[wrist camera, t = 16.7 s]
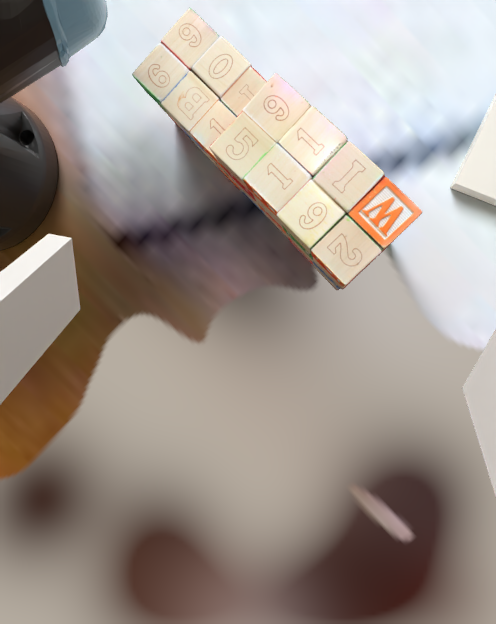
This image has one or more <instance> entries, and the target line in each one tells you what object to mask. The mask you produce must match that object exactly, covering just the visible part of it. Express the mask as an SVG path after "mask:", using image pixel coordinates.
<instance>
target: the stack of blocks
mask: <svg viewBox="0 0 496 624" xmlns="http://www.w3.org/2000/svg"><path fill="white" fill-rule="evenodd" d="M132 75H133V77H134V78H135V79H136V80H137V81H138V83H139V84H140V85H141V86H142V87H143V88H144V90H145V91H146V92H147V93H148V94H149V95H150V96H151V97H152V98H153V99H154V100H155V101H156V102H157V103H158V104H159V105H160V107H161V108H162V109H163V110H164V111H165V112H166V113H167V114H168V115H169V117H170V118H171V119H172V120H173V121H174V122H175V123H176V124H177V125H178V126H179V127H180V128H181V129H182V130H183V131H184V132H185V133H186V134H187V135H188V136H189V137H190V139H191V140H192V141H193V142H194V143H195V145H196V146H197V147H198V148H199V149H200V150H201V151H202V152H203V153H204V154H205V155H206V156H207V157H208V158H209V159H210V160H211V161H212V162H213V163H214V164H215V165H216V166H217V167H218V168H219V169H220V170H221V171H222V172H223V174H224V175H225V176H226V177H227V178H228V179H229V180H230V181H231V182H232V183H233V184H234V185H235V186H236V187H237V188H238V189H239V190H240V191H241V192H243V193H244V194H245V195H246V196H247V197H248V198H249V199H250V200H251V201H252V202H253V203H254V204H255V205H256V206H257V207H258V208H259V209H260V210H261V211H262V212H263V213H264V214H265V215H266V216H267V217H268V218H269V219H270V220H271V221H272V222H273V223H274V224H275V225H276V226H277V227H278V229H279V230H280V231H281V232H282V233H283V234H284V235H285V236H286V237H287V238H288V239H289V240H290V242H291V243H292V244H293V245H294V246H295V247H296V248H297V249H298V250H299V251H300V252H301V253H302V254H303V255H304V256H305V257H306V259H307V260H308V261H309V262H310V263H311V264H312V265H313V266H314V267H315V268H316V269H317V270H318V272H319V273H321V275H322V276H323V277H325V279H326V280H327V281H328V282H329V283H330V284H331V285H332V286H333V287H334V288H335V289H336V290H339V289H344V288H345V287H346V286H347V285H348V284H349V283H350V282H351V281H352V280H353V279H354V278H355V277H356V276H357V275H358V274H359V273H360V272H361V271H362V270H363V269H365V268H366V267H367V266H368V265H369V264H370V263H371V262H372V261H373V260H374V259H375V258H376V257H377V256H378V255H379V254H380V253H382V252H383V251H384V250H385V249H386V248H387V247H388V246H389V245H390V244H391V243H392V242H393V241H394V240H395V239H396V238H397V237H398V236H399V235H400V234H401V233H402V232H403V231H404V230H405V229H406V228H407V227H408V226H409V225H410V224H411V223H412V222H413V221H414V220H415V219H417V218H418V217H419V216H420V214H421V213H422V210H421V209H420V208H419V207H418V206H417V205H416V204H415V203H414V202H412V201H411V200H410V199H409V198H408V197H407V196H406V195H405V194H404V193H403V192H402V191H401V190H400V189H399V188H398V187H397V186H396V185H395V184H394V183H393V182H391V181H390V180H389V179H388V178H387V177H385V176H384V172H383V171H382V170H381V169H380V168H379V167H377V166H376V165H375V164H374V163H373V162H372V161H371V160H370V159H369V158H368V157H367V156H365V155H364V154H363V153H362V152H361V151H360V150H359V149H358V148H357V147H356V146H354V145H353V144H352V143H351V142H349V141H347V137H346V136H345V135H344V134H343V133H342V132H341V131H340V130H339V129H338V128H337V127H336V126H334V125H333V124H332V123H331V122H330V121H329V120H328V119H327V118H326V117H325V116H324V115H323V114H321V113H320V112H319V111H318V110H317V109H316V108H315V107H312V106H311V105H310V104H309V103H308V101H306V100H305V99H304V98H303V97H302V96H301V95H300V94H299V93H298V92H297V91H295V90H294V89H293V88H292V87H291V86H290V85H289V84H288V83H287V82H286V81H285V80H283V79H282V78H281V77H280V76H279V75H278V74H277V73H275V74H274V75H273V76H272V77H271V78H270V79H269V81H268V82H267V81H266V80H265V79H264V78H263V77H262V76H261V75H260V74H259V73H258V72H257V71H256V70H255V69H254V68H252V66H251V64H250V63H249V62H248V61H247V60H246V59H245V58H244V57H243V56H242V55H241V54H240V53H239V52H238V51H237V50H236V49H235V48H234V47H233V46H232V45H231V44H230V43H229V42H228V41H227V40H226V39H225V38H224V37H223V36H219V35H218V34H217V33H216V32H215V31H214V30H213V29H212V28H211V27H210V26H209V25H208V24H207V23H206V22H205V21H204V20H203V19H202V18H201V17H199V15H198V14H197V13H195V12H194V11H193V10H192V9H191V8H189V9H188V10H187V11H186V12H185V13H184V15H183V16H182V17H181V18H180V19H179V20H178V21H177V23H176V24H175V25H174V26H173V27H172V28H171V29H170V30H169V31H168V33H167V34H166V35H165V36H164V37H163V38H162V40H161V43H159V44H158V45H157V46H156V47H155V49H154V50H153V51H152V52H151V53H150V54H149V55H148V56H147V58H146V59H145V60H144V61H143V62H142V63H141V64H140V66H139V67H138V68H137V69H136V70H135V71H134V72H133V74H132Z"/></svg>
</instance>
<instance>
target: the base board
mask: <svg viewBox="0 0 496 624" xmlns="http://www.w3.org/2000/svg"><path fill="white" fill-rule="evenodd" d="M450 188H452V189H454V190H457V191H459V192H462V193H464V194H467V195H469V196H472V197H474V198H477V199H479V200H482V201H484V202H487V203H489V204H492V205H494V206H496V94H495V96H494V98H493V100H492V102H491V104H490V106H489V108H488V110H487V112H486V115H485V117H484V119H483V121H482V123H481V125H480V127H479V129H478V131H477V133H476V135H475V137H474V139H473V141H472V143H471V146H470V148H469V150H468V152H467V154H466V156H465V158H464V160H463V162H462V164H461V166H460V168H459V170H458V172H457V174H456V177H455V179H454V181H453V183H452V185H451V187H450Z"/></svg>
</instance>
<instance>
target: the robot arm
mask: <svg viewBox="0 0 496 624" xmlns="http://www.w3.org/2000/svg"><path fill="white" fill-rule="evenodd" d="M106 20H107V5H106V1H105V0H0V250H4V249H7V248H10V247H12V246H14V245H16V244H18V243H20V242H21V241H23V240H24V239H26V238H27V237H28V236H29V235H30V234H32V233H33V232H34V231H35V230H36V229H37V227H38V226H39V225H40V224H41V222H42V221H43V219H44V218H45V216H46V215H47V213H48V211H49V209H50V206H51V204H52V201H53V199H54V195H55V191H56V186H57V178H58V165H57V157H56V152H55V148H54V145H53V142H52V139H51V137H50V135H49V133H48V131H47V129H46V127H45V126H44V124H43V123H42V122H41V120H40V119H39V118H38V117H37V116H36V115H35V114H34V113H33V112H32V111H31V110H30V109H28V108H27V107H26V106H24V105H23V104H21V103H20V102H18V101H17V100H15V99H13V98H12V97H11V96H13V95H14V94H16V93H18V92H19V91H21V90H22V89H24V88H25V87H27V86H29V85H30V84H32V83H33V82H35V81H37V80H38V79H40V78H41V77H43V76H44V75H46V74H48V73H49V72H51V71H52V70H54V69H55V68H57V67H59V66H60V65H61V66H62V67H64V66H65V65H66V64H67V63H68V62H69V58H70V57H71V56H73V55H74V54H75V53H77V52H78V51H79V50H81V49H82V48H84V47H85V46H86V45H88V44H89V43H90V42H92V41H93V40H95V39H96V38H97V37H98V36H99V35H100V34H101V33H102V31H103V30H104V28H105V24H106ZM79 311H80V302H79V293H78V285H77V277H76V268H75V260H74V252H73V244H72V238H69V237H64V236H58V235H53V234H47V235H46V236H45V237H44V238H42V239H41V240H40V241H39V242H37V243H36V244H35V245H34V246H32V247H31V248H30V249H29V250H27V251H26V252H25V253H24V254H22V255H21V256H20V257H19V258H17V259H16V260H15V261H14V262H12V263H11V264H10V265H9V266H7V267H6V268H5V269H4V270H2V271H1V272H0V404H1V403H2V402H3V401H4V400H5V398H6V397H7V396H8V395H9V394H10V393H11V391H12V390H13V389H14V388H15V387H16V385H17V384H18V383H19V382H20V381H21V379H22V378H23V377H24V376H25V375H26V374H27V372H28V371H29V370H30V369H31V368H32V366H33V365H34V364H35V363H36V362H37V360H38V359H39V358H40V357H41V356H42V355H43V353H44V352H45V351H46V350H47V349H48V347H49V346H50V345H51V344H52V343H53V341H54V340H55V339H56V338H57V337H58V335H59V334H60V333H61V332H62V331H63V330H64V328H65V327H66V326H67V325H68V324H69V322H70V321H71V320H72V319H73V318H74V316H75V315H76V314H77V313H78V312H79ZM462 389H463V392H464V396H465V399H466V402H467V405H468V408H469V412H470V415H471V418H472V421H473V424H474V428H475V431H476V434H477V437H478V441H479V444H480V447H481V450H482V454H483V457H484V460H485V464H486V467H487V470H488V473H489V477H490V479H491V483H492V486H493V489H494V492H495V496H496V329H495V331H494V333H493V335H492V336H491V338H490V340H489V342H488V343H487V345H486V347H485V349H484V350H483V352H482V354H481V356H480V357H479V359H478V361H477V363H476V365H475V366H474V368H473V370H472V372H471V373H470V375H469V377H468V379H467V381H466V382H465V384H464V386H463V387H462Z"/></svg>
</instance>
